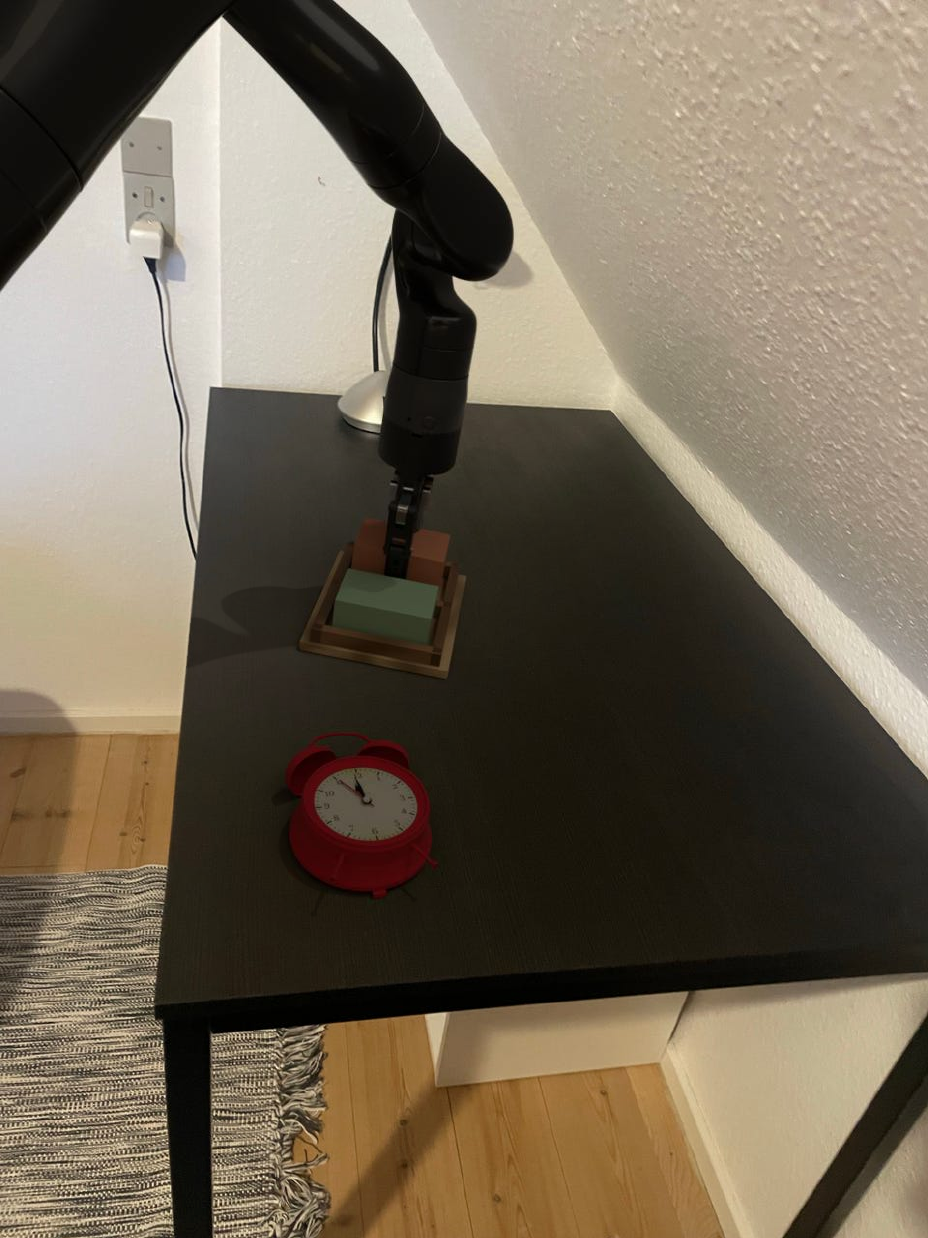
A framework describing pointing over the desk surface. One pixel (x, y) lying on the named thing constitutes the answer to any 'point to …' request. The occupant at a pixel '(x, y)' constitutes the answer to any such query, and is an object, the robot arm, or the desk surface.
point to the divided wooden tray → (383, 649)
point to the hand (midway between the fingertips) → (398, 567)
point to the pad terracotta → (422, 562)
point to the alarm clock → (359, 816)
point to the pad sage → (385, 606)
